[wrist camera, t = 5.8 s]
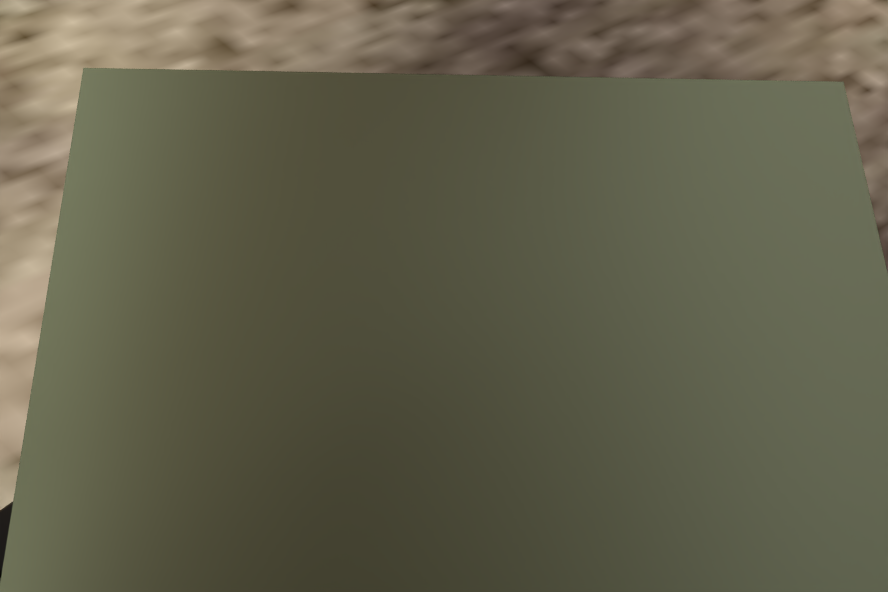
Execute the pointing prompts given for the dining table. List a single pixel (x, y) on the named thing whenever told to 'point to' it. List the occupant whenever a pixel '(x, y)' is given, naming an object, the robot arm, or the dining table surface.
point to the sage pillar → (458, 339)
